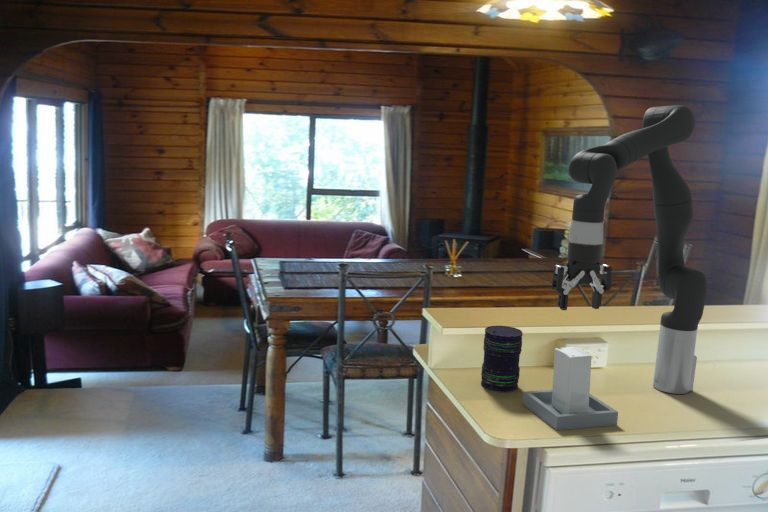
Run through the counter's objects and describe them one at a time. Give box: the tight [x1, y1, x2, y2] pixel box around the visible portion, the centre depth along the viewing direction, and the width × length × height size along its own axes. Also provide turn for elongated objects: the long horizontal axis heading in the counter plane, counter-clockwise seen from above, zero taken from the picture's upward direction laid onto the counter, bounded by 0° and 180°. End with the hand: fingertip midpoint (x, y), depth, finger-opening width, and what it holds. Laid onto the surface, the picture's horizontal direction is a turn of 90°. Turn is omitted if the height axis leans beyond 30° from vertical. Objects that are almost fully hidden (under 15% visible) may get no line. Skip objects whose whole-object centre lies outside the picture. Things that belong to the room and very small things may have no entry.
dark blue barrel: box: [480, 325, 524, 393], centre depth 194 cm, size 10×10×15 cm
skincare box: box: [551, 346, 593, 414], centre depth 176 cm, size 8×6×15 cm
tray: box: [522, 389, 619, 431], centre depth 177 cm, size 16×16×3 cm
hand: (579, 308), depth 173 cm, fingers open, 8 cm apart
